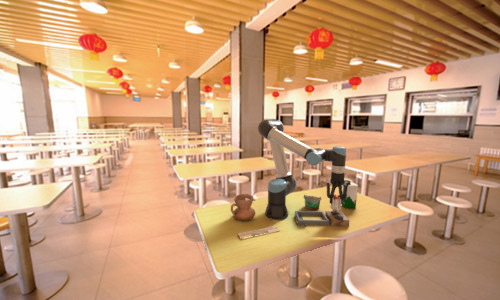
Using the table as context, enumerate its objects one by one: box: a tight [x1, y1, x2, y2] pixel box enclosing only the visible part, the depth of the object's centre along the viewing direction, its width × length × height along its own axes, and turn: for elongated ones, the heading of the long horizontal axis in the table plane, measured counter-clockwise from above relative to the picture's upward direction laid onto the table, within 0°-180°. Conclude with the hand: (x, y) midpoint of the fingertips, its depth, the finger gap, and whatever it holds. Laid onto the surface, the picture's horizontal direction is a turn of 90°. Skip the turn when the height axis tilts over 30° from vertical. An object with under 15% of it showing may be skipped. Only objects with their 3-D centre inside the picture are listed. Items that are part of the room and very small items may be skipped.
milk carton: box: [341, 179, 359, 210], centre depth 150 cm, size 9×9×20 cm
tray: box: [294, 210, 330, 227], centre depth 131 cm, size 18×13×4 cm
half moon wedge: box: [303, 194, 322, 211], centre depth 146 cm, size 12×6×10 cm, turn 62°
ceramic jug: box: [230, 193, 256, 222], centre depth 135 cm, size 18×14×14 cm
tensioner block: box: [324, 210, 350, 228], centre depth 128 cm, size 10×12×7 cm
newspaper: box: [237, 225, 280, 240], centre depth 117 cm, size 24×7×2 cm, turn 112°
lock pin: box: [331, 194, 340, 215], centre depth 130 cm, size 4×4×16 cm
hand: (335, 208), depth 130 cm, fingers closed on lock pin, 4 cm apart
